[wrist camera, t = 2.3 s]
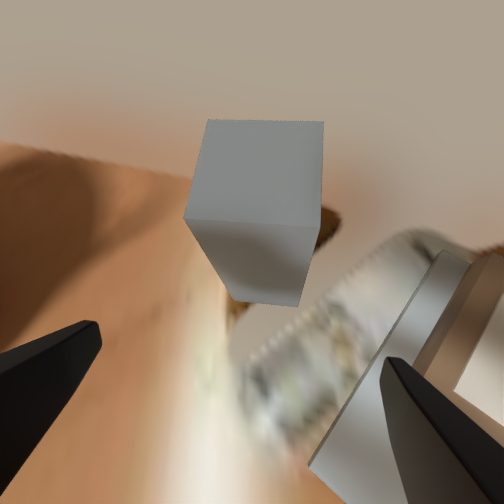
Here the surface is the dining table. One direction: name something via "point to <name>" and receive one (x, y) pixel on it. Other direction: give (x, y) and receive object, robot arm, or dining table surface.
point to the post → (258, 205)
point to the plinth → (364, 408)
